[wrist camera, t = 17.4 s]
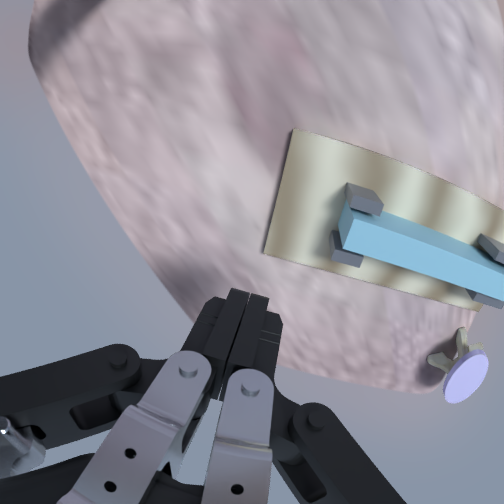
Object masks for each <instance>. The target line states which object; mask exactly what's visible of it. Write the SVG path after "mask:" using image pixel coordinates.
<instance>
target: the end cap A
mask: <svg viewBox="0 0 504 504" xmlns="http://www.w3.org/2000/svg"><path fill="white" fill-rule="evenodd" d="M344 194H345V197H346V199H347V202H348V204H349V207H351V208H354V209H357V210H360V211H364V212H367V213H370V214H373V215H376V216H379V217H380V215H381V212H382V210H383V207H384V204H383V202H382V201H381V200H380V198H379V197H378V196H377V194H376V193H375V192H374V191H373V190H370V189H367V188H364V187H361V186H358V185H355V184H352V183H349V182H347V184H346V188H345V191H344ZM329 246H330V256H331V260H332V261H336V262H339V263H343V264H347V265H350V266H354V267H357V268H360V266H361V263H362V261H363V259H364V256H363V255H362V254H359V253H355V252H352V251H349V250H345V249H343V247H342V242H341V237H340V233H339V232H338V231H335V230H332V231H331V234H330V237H329Z"/></svg>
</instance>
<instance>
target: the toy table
mask: <svg viewBox="0 0 504 504" xmlns="http://www.w3.org/2000/svg"><path fill="white" fill-rule="evenodd" d="M456 344H457V348H458V357H457V358H456V359H455V360H450V359H448V358H447V357H446V356H445V355H444V353H443V352H440V353H436V354H431V355H428V358H427V361H428V363H429V364H431V365H432V366H434V367H437V368H440V369H442V370H443V371H445V372H446V373H447V374H448V375H447V377H446V380H445V382H444V387H443V392H444V396H445V399H446V401H447V402H449V403H458V402H460V401H462V400H464V399H466V398H467V397H469V396H470V395H471V394H472V393H473V392H474V391H475V390H476V389H477V388H478V387H479V386H480V384H481V383H482V381H483V379H484V377H485V375H486V373H487V369H488V359H487V356H486V354H485V353H484V351H482V350H483V345H482V343H480V342H479V343H476V344H472V345H469V346H468V347H467V333H466V329H465V327H462V328H459V329H458V333H457V337H456Z"/></svg>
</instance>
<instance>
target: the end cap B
mask: <svg viewBox="0 0 504 504" xmlns="http://www.w3.org/2000/svg"><path fill="white" fill-rule="evenodd" d="M477 242H478V243H479V244H480V245H481V246H482V247H483V248H484V249H485V250H486V251H487V252H488V253H489V254H490V255H491V256H492V257H493V259H494V260H496V261H498V262H500V263H502V264H503V265H504V244H503V243H501V242H499V241H497V240H495V239H493V238H491V237H488V236H486V235H484V234H482V233H481V234H480V236H479V238H478V241H477ZM465 289H466V291H467V292H468V294H469V296H470V297H471V299H472V300H473V301H476V302H479V303H482V304H486V305H489V306H492V307H496V308H499V309H502V307H503V306H504V301H501V300H499V299H496V298H493V297H490V296H487V295H484V294H482V293H479V292H476V291H473V290H470V289H467V288H465Z"/></svg>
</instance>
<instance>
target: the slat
mask: <svg viewBox="0 0 504 504" xmlns="http://www.w3.org/2000/svg"><path fill="white" fill-rule="evenodd" d="M338 228H339V233H340V237H341V242H342V247H343V249H345V250H349V251H352V252H355V253H359V254H362V255H365V256H368V257H372V258H375V259H378V260H381V261H385V262H388V263H391V264H394V265H397V266H400V267H404V268H407V269H410V270H413V271H416V272H419V273H422V274H425V275H428V276H431V277H434V278H437V279H440V280H443V281H446V282H449V283H452V284H455V285H458V286H461V287H464V288H467V289H470V290H473V291H476V292H479V293H482V294H484V295H487V296H490V297H493V298H496V299H499V300H501V301H504V265H503V264H502V263H500V262H498V261H496V260H494V259H493V257H492V256H491V255H490V254H489V253H487V252H484V251H482V250H480V249H478V248H476V247H473V246H471V245H469V244H466V243H464V242H462V241H460V240H457V239H455V238H452V237H450V236H448V235H445V234H443V233H440V232H438V231H435V230H433V229H430V228H428V227H425V226H423V225H420V224H417V223H415V222H412V221H410V220H407V219H404V218H402V217H399V216H396V215H393V214H391V213H388V212H385V211H382V212H381V215H380V217H379V216H376V215H373V214H370V213H367V212H364V211H360V210H357V209H354V208H351V207H349V204H348V202H347V199H346V201H345V204H344V207H343V210H342V213H341V216H340V219H339V222H338Z"/></svg>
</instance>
